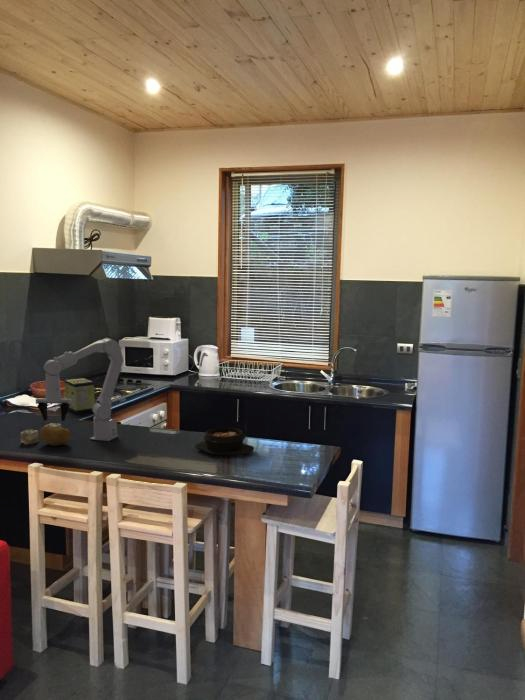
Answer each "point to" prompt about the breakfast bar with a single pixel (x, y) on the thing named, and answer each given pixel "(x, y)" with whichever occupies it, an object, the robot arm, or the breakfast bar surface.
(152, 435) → the breakfast bar surface
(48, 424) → the pip block two
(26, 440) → the pip block four
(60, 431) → the potato
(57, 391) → the robot arm
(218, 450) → the casserole
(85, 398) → the protein box
